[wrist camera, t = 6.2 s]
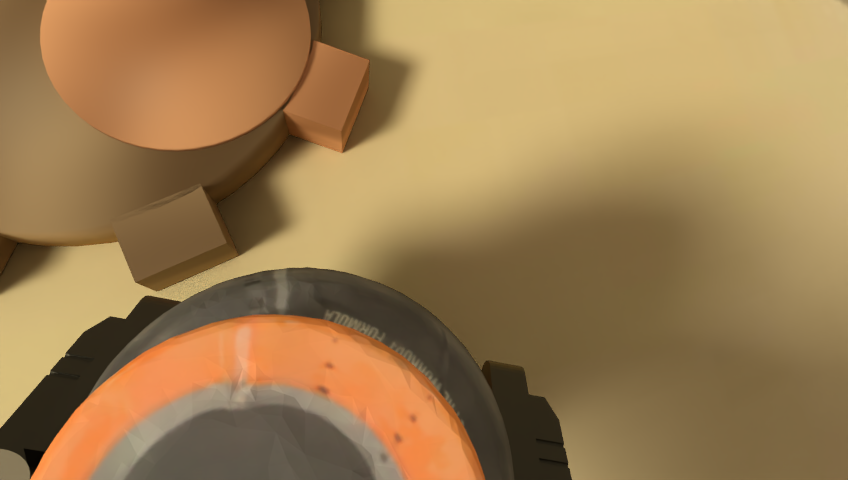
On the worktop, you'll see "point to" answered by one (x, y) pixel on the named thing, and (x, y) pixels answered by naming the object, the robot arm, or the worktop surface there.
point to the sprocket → (157, 119)
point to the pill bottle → (288, 391)
